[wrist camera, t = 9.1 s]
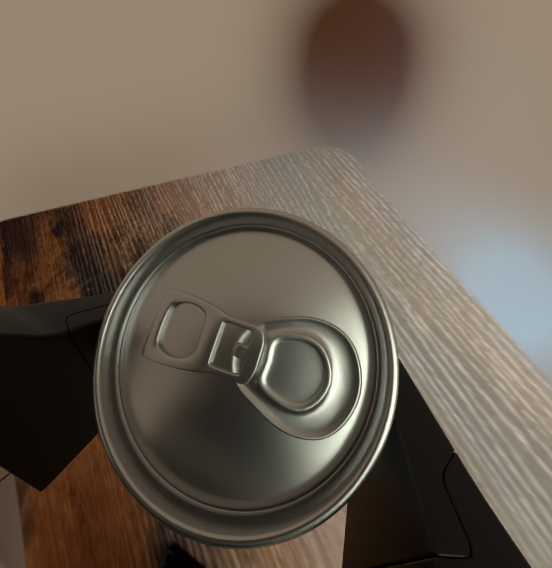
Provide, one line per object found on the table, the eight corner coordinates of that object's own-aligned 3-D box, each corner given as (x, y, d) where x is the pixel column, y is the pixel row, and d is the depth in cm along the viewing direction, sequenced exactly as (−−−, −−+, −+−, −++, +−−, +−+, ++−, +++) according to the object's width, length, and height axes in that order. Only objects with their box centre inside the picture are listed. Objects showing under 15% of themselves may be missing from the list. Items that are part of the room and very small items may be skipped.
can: (328, 406, 14) (383, 724, 2) (238, 371, 15) (12, 464, 4) (351, 309, 15) (461, 217, 4) (265, 286, 17) (153, 170, 5)
